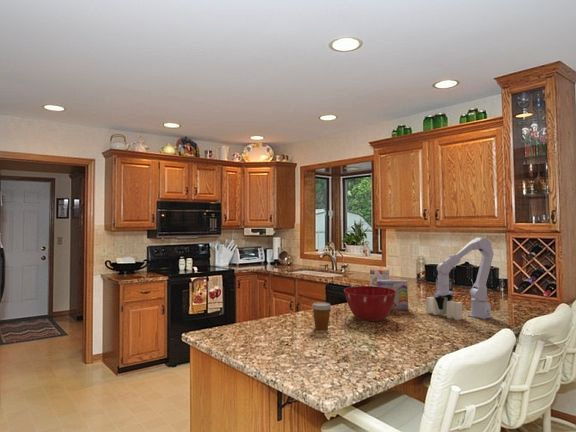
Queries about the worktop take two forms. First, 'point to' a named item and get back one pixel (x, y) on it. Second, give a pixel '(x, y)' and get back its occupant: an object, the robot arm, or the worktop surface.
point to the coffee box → (449, 286)
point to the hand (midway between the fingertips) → (443, 308)
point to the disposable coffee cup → (321, 315)
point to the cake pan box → (401, 290)
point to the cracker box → (378, 275)
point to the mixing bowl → (370, 301)
